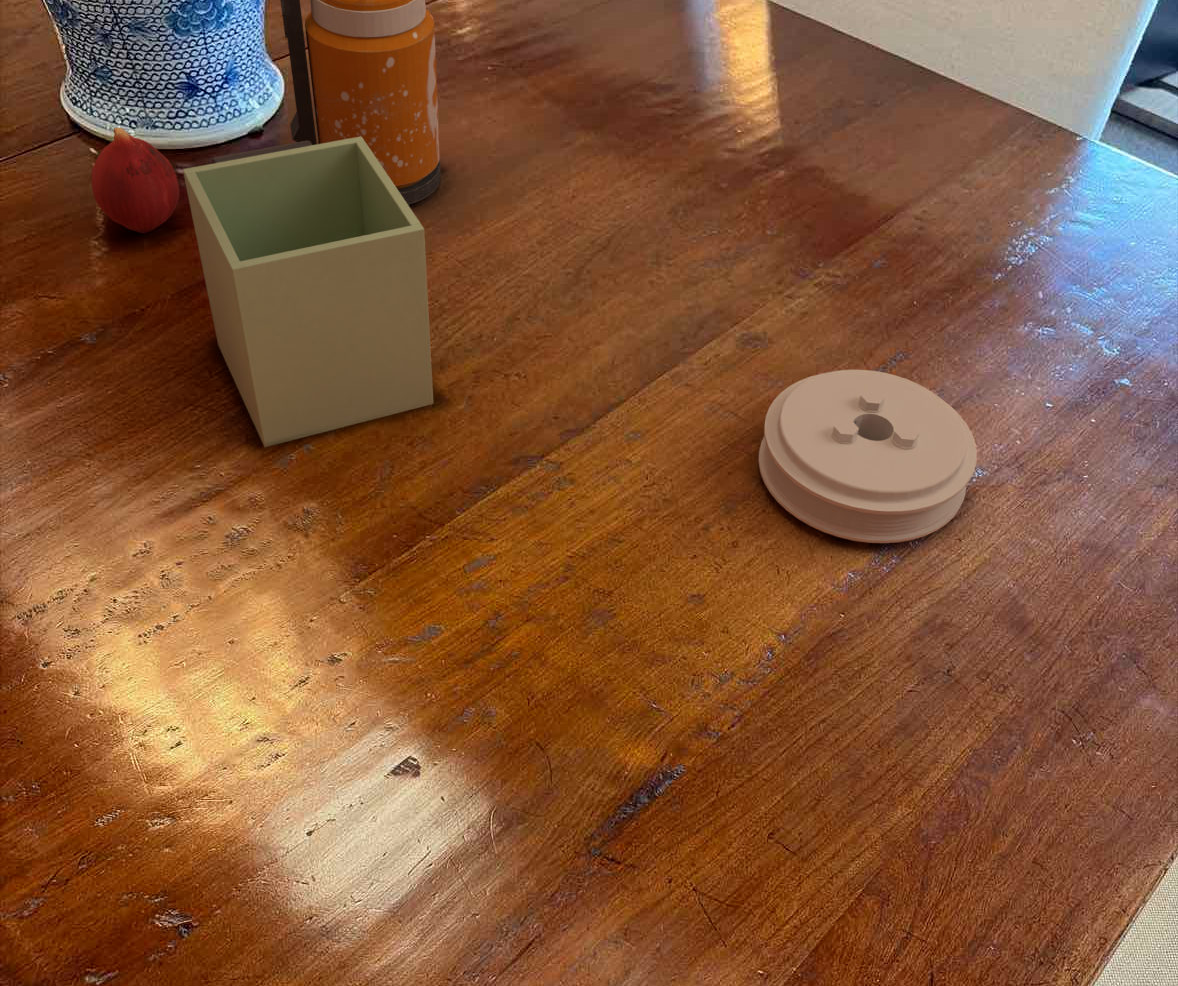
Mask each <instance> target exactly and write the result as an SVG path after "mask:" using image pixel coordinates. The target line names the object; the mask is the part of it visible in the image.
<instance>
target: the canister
mask: <svg viewBox="0 0 1178 986" xmlns="http://www.w3.org/2000/svg"><path fill="white" fill-rule="evenodd" d="M426 6H427V5H426V0H310V12H309V13H308V14H307V15H306V17H305V19H304V22H303V15H302V8H301V7H302V6H301V0H280V8H281V15H282V23H283V30H284V38H285V39H287V46H288V47H287V48H288V53H289V55H288V56H289V61H290V62H289V63H290V71H291V78H292V86H293V93H294V100H295V101H294V102H295V110H296V111H295V114H294V116H293V118H292V120H291V122H290V123H289V126H290V135H291V140H292V141H294V142H295V143H297V142H302V141H310V142H311V144H312V145H317V144H323V143H328V142H333V141H339V140H344V139H350V138H355V137H362V138H363V139H364V141H365V142H366V144H367V145H368V147H369V148H370V150H371V151H372V153H373V154H374V156H375V157H376V158H377V160H378V161H379V163H380V164H381V166H382V167H383V169H384V170H385V172H386V173H387V175H388V176H389V178H390V179H391V181H392V182H393V184H394V185H395V187H396V188H397V189H398V191H399V192H400V194H401V195H402V197H403V198H404V200H405V201H406V203H407V204H408V206H410V205H411V204H414V203H417V202H419V201H422V200H424V199H425V198H427V197H428V196H430V195H431V194H432V193H434V192H435V191H436V189H437V188H438V186H439V185H440V182H441V179H442V177H441V174H442V173H441V160H440V159H441V153H440V151H441V149H440V148H441V147H440V128H439V127H440V126H439V107H438V105H439V103H438V101H439V100H438V80H437V78H438V77H437V55H436V31H435V18H434V17H433V15H432V14H431V12H430V11H429V10H428V9H427V7H426ZM303 23H304V24H303ZM304 30H305V33H304ZM305 38H306V41H305ZM306 46H307V47H306ZM306 48H307V49H306ZM306 50H307V51H306ZM307 55H308V58H307ZM308 63H309V67H308ZM309 72H310V76H309ZM310 80H311V82H310ZM310 83H311V84H310ZM311 88H312V91H311ZM312 97H313V101H312ZM313 107H314V109H313ZM314 114H315V118H314ZM315 124H316V125H315ZM316 132H317V134H316ZM317 140H318V141H317ZM317 142H318V143H317Z"/></svg>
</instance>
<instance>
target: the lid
mask: <svg viewBox="0 0 1178 986" xmlns="http://www.w3.org/2000/svg"><path fill="white" fill-rule="evenodd" d="M977 458H978V449H977V444H976V440H975V438H974V435H973V432H972V431H971V429H970V427H969V425H968V424H967V422H966V421H965V420H964V418H963V417H962V416H961V415H960V413H958V412H957V411H956V410H955V409H954V408H953V407H952V406H951V405H950V404H949V403H947V402H946V401H945V400H943V399H942V398H941V397H940V396H938V395H937V394H935V393H934V392H933V391H931V390H930V389H928V388H926V387H924V386H923V385H921V384H919V383H917V382H915V381H912V380H909V379H907V378H905V377H902V376H898V375H895V374H891V373H888V372H883V371H877V370H871V369H868V370H867V369H840V370H834V371H828V372H822V373H819V374H815V375H811V376H808V377H806V378H803V379H800V380H798V381H796V382H794V383H793V384H791V385H789V386H788V387H786V388H785V389H784V390H783V391H781V392H780V393H779V394H778V395H777V396H776V397H775V398H774V399H773V401H772V403H771V404H770V405H769V407H768V410H767V413H766V415H765V420H764V424H763V437H762V440H761V442H760V446H759V450H758V468H759V473H760V476H761V478H762V481H763V483H764V485H765V487H766V488H767V490H768V491H769V493H770V495H771V496H772V497H773V498H774V499H775V501H776V502H777V503H778V504H779V505H780V506H781V507H782V508H784V509H785V510H786V511H787V512H788V513H789V514H791V515H792V516H793V517H795V519H798V520H799V521H801V522H803V523H804V524H806V525H808V526H810V527H812V528H814V529H816V530H818V531H821V532H823V533H826V534H828V535H831V536H834V537H837V538H841V539H845V540H850V541H853V542H861V543H867V544H870V543H871V544H890V543H891V544H892V543H893V544H894V543H903V542H909V541H913V540H917V539H920V538H923V537H926V536H928V535H930V534H932V533H934V532H937V531H938V530H939V529H941V528H943V527H944V526H945V525H947V524H948V523H949V522H950V521H951V520H952V519H954V517H955V516H956V515H957V513H958V512H959V510H960V509H961V507H962V506H963V502H964V500H965V497H966V492H967V485H968V484H969V483H970V481H971V479H972V477H973V474H974V472H975V469H976V465H977Z"/></svg>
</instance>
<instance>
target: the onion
mask: <svg viewBox="0 0 1178 986" xmlns="http://www.w3.org/2000/svg"><path fill="white" fill-rule="evenodd" d="M91 188H92V194H93V198H94V200H95V202H96V204H97V207H98V208H99V209H100V210H101V211H102V212H103V213H104V214H105V215H106V216H107V217H108V218H109V219H111V220H112V221H113V222H114V223H116V224H118V225H121V226H123V227H125V228H126V229H128V230H129V231H130V230H131V231H133V232H137V233H139V234H147V233H150V232H152V231H154V230H155V229H157V228H158V227H160V226H161V225H162V224H164V223H165V222H167V221H168V220H169V219H170V217H171V216H172V215H173V213H174V211H175V210H176V207H177V204H178V202H179V199H180V197H181V196H180V183H179V180H178V177H177V174H176V171H175V169H174V167H173V165H172V164H171V162H170V161H169V159H168V158H167V157H166V156H165V155H163V153H161V152H160V150H158V149H157V148H156V147H155V146H153V145H152V144H151V143H149V142H147V141H146V140H143V139H141V138H137V137H134V136H132V135H131V134H130V133H128V132H127V131H126V130H125V129H124V128H122V127H114V129H113V140H112V141H111V142H110V143H108V145H107V146H105V147H104V148H103V149H102V150H101V152H100V153H99V155H98V156H97V157H96V160H95V161H94V164H93V166H92V169H91Z"/></svg>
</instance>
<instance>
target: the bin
mask: <svg viewBox="0 0 1178 986" xmlns="http://www.w3.org/2000/svg"><path fill="white" fill-rule="evenodd" d="M182 173H183V178H184V182H185V188H186V193H187V197H188V202H189V208H190V212H191V217H192V222H193V226H194V232H195V236H196V242H197V246H198V252H199V257H200V261H201V266H202V273H203V276H204V282H205V287H206V290H207V296H208V297H207V298H208V301H209V307H210V310H211V317H212V320H213V326H214V331H215V336H216V342H217V346H218V348H219V350H220V352H221V354H222V357H223V359H224V361H225V363H226V366H227V368H228V370H229V372H230V374H231V376H232V379H233V381H234V383H235V386H236V388H237V390H238V393H239V394H240V397H241V399H242V401H243V403H244V405H245V408H246V409H247V412H248V414H249V417H250V419H251V421H252V423H253V425H254V427H255V430H256V432H257V435H258V437H259V439H260V441H261V443H262V446H263V447H264V448H267V447H268V448H269V447H271V446H275V445H278V444H283V443H287V442H291V441H295V440H299V439H301V438H302V439H303V438H306V437H310V436H314V435H318V434H322V433H325V432H329V431H334V430H337V429H342V428H345V427H349V426H352V425H356V424H357V425H358V424H361V423H364V422H368V421H372V420H376V419H380V418H384V417H387V416H392V415H395V414H400V413H404V412H407V411H411V410H415V409H418V408H422V407H427V406H431V405H433V404H434V391H433V390H434V389H433V387H434V386H433V370H432V368H433V367H432V351H431V349H432V348H431V335H430V334H431V333H430V332H431V331H430V315H429V314H430V311H429V294H428V293H429V292H428V275H427V257H426V237H425V235H426V234H425V227H424V226H423V225H422V223H421V222H420V220H419V218H418V217H417V216H416V214H415V213H414V211H413V210H412V208H411V207H410V205H408V204H407V203H406V201H405V200H404V198H403V197H402V195H401V194H400V192H399V191H398V189H397V188H396V187H395V185H394V184H393V182H392V181H391V179H390V178H389V176H388V175H387V173H386V172H385V170H384V169H383V167H382V166H381V164H380V163H379V161H378V160H377V158H376V157H375V156H374V154H373V153H372V151H371V150H370V148H369V147H368V145H367V144H366V142H365V141H364V139H363V138H362V137H355V138H350V139H344V140H339V141H333V142H328V143H323V144H319V143H317V145H312V144H311V142H310V141H302V142H292V143H285V144H281V145H280V144H279V145H275V146H270V147H265V148H259V149H254V150H253V149H252V150H249V151H248V150H247V151H242V152H238V153H237V152H236V153H231V154H225V155H222V156H221V155H220V156H214V157H213V158H212V159H211V163H209V164H204V165H198V166H192V167H187V168H183V169H182Z"/></svg>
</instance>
